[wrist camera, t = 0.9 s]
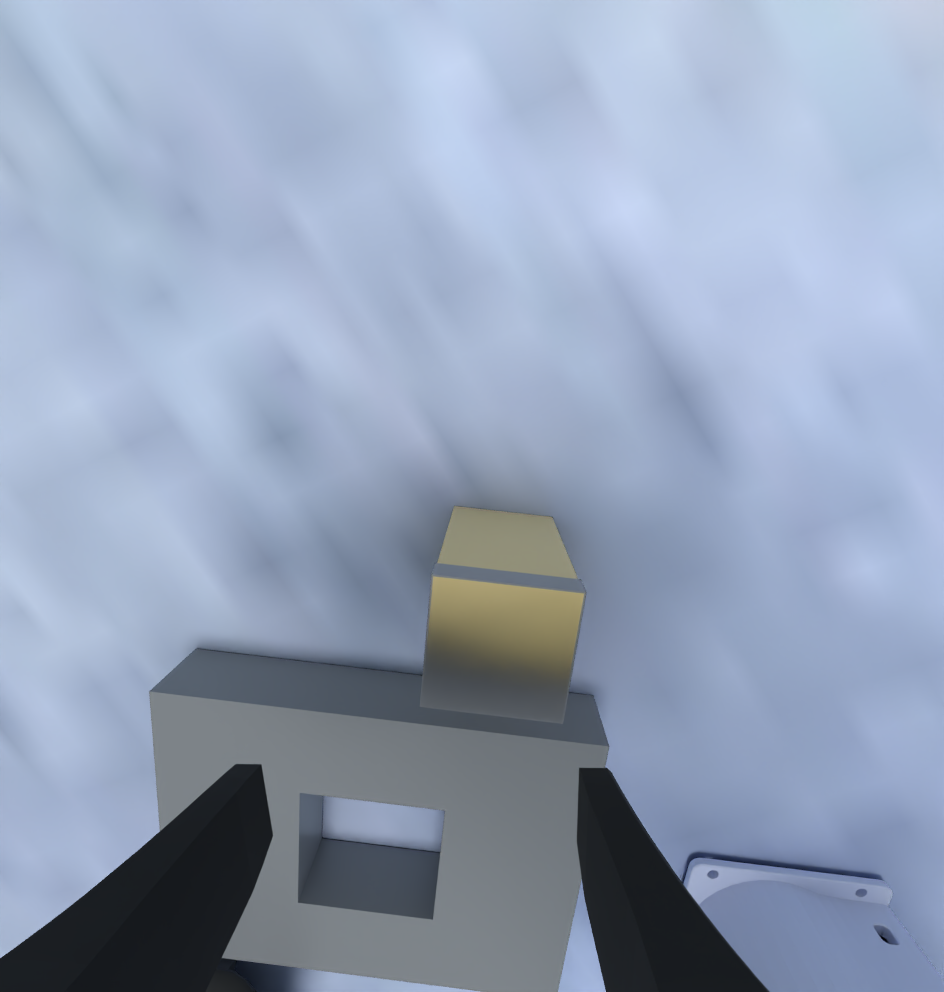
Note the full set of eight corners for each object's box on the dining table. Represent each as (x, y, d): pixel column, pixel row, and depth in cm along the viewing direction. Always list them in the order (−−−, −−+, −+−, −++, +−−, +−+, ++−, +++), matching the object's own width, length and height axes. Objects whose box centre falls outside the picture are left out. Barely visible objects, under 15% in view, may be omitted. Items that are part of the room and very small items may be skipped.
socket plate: (593, 695, 21) (609, 746, 18) (548, 927, 25) (555, 1000, 22) (195, 648, 21) (149, 691, 19) (206, 884, 25) (169, 951, 22)
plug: (553, 515, 19) (586, 591, 12) (539, 607, 20) (562, 723, 13) (453, 504, 19) (431, 574, 12) (444, 596, 20) (419, 706, 14)
